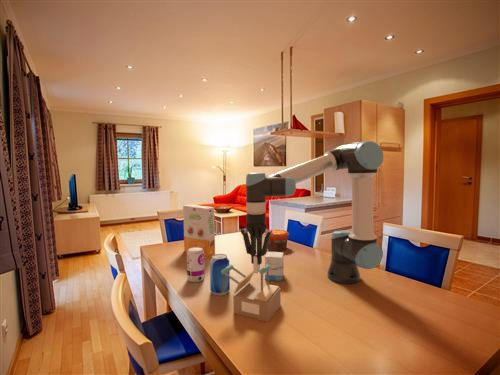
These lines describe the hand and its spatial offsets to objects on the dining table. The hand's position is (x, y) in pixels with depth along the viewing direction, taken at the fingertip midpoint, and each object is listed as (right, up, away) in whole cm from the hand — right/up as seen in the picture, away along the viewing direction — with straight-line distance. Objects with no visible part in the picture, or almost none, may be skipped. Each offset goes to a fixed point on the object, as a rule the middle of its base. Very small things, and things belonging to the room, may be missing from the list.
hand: (256, 271), depth 111 cm
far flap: (-5, -3, -2) cm, 6 cm away
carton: (0, -14, -3) cm, 14 cm away
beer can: (-16, -13, +12) cm, 24 cm away
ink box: (+9, -11, +28) cm, 32 cm away
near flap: (+4, -6, -5) cm, 9 cm away
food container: (+16, -7, +78) cm, 80 cm away
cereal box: (-35, -9, +68) cm, 77 cm away
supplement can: (-29, -12, +26) cm, 41 cm away
